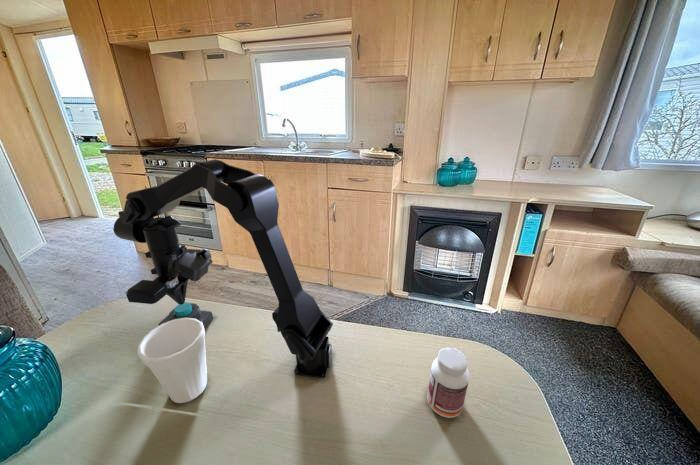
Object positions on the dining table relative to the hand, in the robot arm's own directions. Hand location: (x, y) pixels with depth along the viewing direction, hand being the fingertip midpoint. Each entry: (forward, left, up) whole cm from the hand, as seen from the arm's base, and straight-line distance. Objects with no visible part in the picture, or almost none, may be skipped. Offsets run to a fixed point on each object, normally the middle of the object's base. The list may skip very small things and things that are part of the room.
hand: (181, 303), depth 66 cm
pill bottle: (+60, -12, -7) cm, 61 cm away
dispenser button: (0, 0, -3) cm, 3 cm away
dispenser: (0, 0, -6) cm, 7 cm away
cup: (+12, -16, -7) cm, 21 cm away
